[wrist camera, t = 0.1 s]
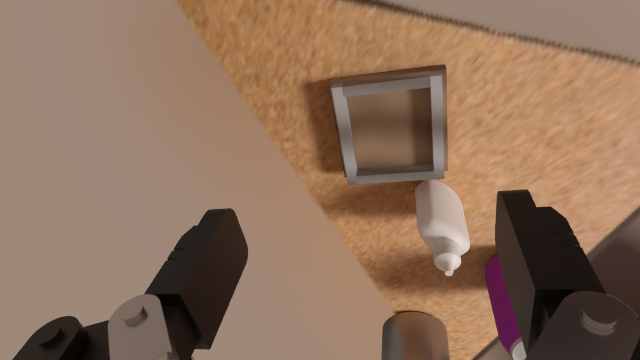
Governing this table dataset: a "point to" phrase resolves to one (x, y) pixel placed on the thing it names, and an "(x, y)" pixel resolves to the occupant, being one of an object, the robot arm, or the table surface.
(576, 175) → the table surface
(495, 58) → the table surface
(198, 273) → the robot arm
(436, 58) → the table surface
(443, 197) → the eye dropper bottle
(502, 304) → the beverage can
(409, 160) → the grey square tray
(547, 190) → the table surface
